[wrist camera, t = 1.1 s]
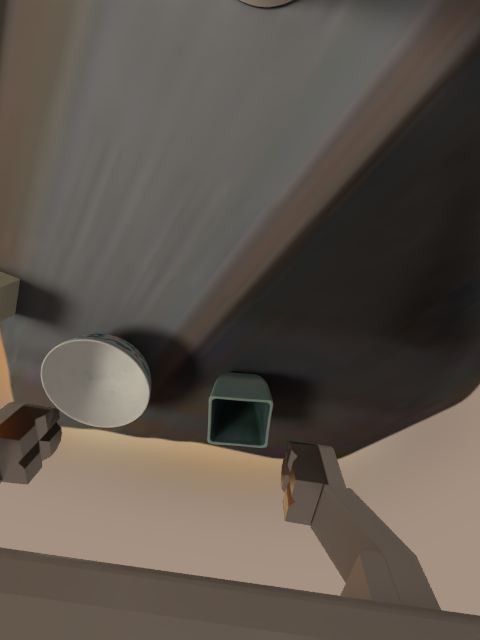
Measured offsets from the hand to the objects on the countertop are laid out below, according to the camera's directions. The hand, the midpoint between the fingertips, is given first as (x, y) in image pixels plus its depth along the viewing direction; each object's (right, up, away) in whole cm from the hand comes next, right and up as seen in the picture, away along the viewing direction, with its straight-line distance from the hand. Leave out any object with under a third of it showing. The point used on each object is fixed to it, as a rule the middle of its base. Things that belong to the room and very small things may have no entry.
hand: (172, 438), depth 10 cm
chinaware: (-18, -2, +37) cm, 41 cm away
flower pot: (+2, -7, +39) cm, 40 cm away
